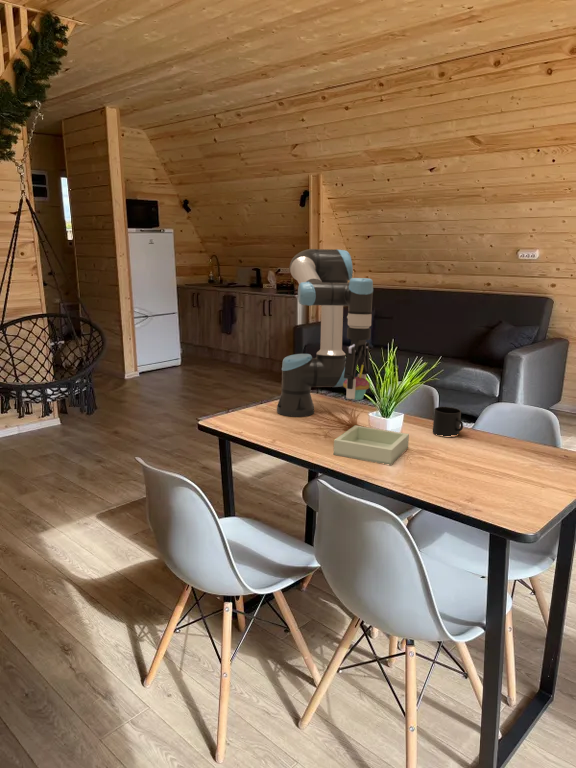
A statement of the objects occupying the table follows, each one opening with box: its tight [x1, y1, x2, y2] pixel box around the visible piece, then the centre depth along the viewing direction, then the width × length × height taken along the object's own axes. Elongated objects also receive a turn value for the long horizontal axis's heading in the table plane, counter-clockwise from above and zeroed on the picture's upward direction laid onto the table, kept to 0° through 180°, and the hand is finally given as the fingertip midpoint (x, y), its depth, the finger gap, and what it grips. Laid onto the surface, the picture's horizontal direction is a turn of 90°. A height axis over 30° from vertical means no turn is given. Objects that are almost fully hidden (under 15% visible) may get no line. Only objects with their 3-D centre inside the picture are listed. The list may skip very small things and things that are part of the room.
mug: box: [432, 406, 464, 436], centre depth 220 cm, size 9×12×9 cm
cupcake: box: [342, 363, 370, 401], centre depth 198 cm, size 9×8×12 cm
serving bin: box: [333, 424, 410, 466], centre depth 200 cm, size 19×19×5 cm
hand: (355, 395), depth 199 cm, fingers closed on cupcake, 8 cm apart
